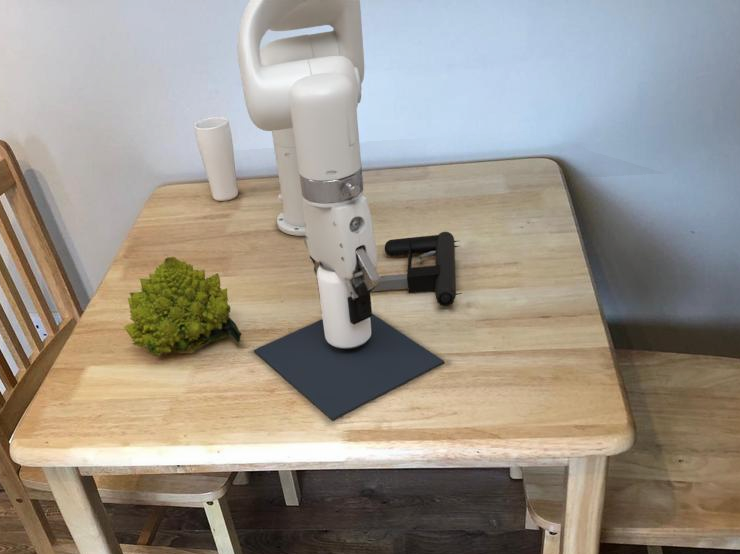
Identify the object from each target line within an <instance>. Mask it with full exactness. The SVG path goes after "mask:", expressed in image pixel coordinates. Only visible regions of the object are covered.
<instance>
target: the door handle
mask: <svg viewBox="0 0 740 554" xmlns="http://www.w3.org/2000/svg"><path fill="white" fill-rule="evenodd" d="M457 242H459V240H455V237H454V235H453V233H451V232H450V231H442V232H440V233H438V234H434V235H424V236H413V237H405V238H404V237H403V238H395V239H394V238H393V239H389V240H387V241H386V242H385V244H384V252H385V254H386V255H387V256H388V257H398V256H407V257H408V258H407V269H406V270H407V271H406V273H398V274H388V275H386V274H385V275H379V277H380V281H379V283H378V284H377V285H376V286H375V288H374V289H373V291H372V292H380V291H393V290H404V289H408V294H414V293H426V292H435V295H434V296H435V300H436V302H437V304H438V305H439V306H440V307H443V308H447V307H451V306H452V305H453V304H454V303H455V300H456V298H457V296H459V295H462V294H463V293H462V292H459V293H458V292H457V283H456V253H455V252H456V251H455V249H456V248H458V247H460V245H455V243H457ZM418 254H419V255H418ZM413 255H418V259H419V260H421V261H422V260H423V259H426V258H428V257H432V256H435V265H425V266H414V267H413V266H412V265H413V264H412V263H413Z"/></svg>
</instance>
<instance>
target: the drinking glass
mask: <svg viewBox="0 0 740 554" xmlns="http://www.w3.org/2000/svg"><path fill="white" fill-rule="evenodd" d="M230 125H231V124H230V122H229V119H228V118H226V117H223V116H222V117H221V116H214V117H208V118H203V119H201V120H199V121H196V123H194V126H193V128H194V134H195V138H196V143H197V147H198V151H199V154H200V157H201V161H202V164H203V167H204V170H205V174H206V177H207V181H208V185H209V188H210V192H211V196H212V198H213V199H214V200H215V201H218V202H227V201H230V200H233V199H235V198H237V197H238V195H239V188H238V180H237V170H236V161H235V160H236V159H235V152H234V142H233V135H232V130H231V126H230Z"/></svg>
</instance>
